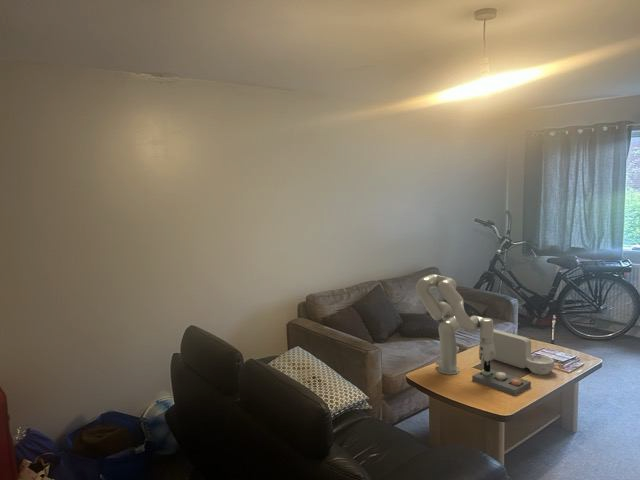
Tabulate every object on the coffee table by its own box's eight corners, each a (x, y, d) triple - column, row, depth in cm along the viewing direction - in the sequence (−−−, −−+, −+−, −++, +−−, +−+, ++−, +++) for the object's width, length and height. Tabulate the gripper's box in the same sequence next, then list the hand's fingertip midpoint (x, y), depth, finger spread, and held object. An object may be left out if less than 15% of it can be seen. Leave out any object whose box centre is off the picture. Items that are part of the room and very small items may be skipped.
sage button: (480, 374, 264) (480, 370, 263) (485, 372, 267) (485, 368, 266) (487, 377, 260) (487, 373, 259) (492, 375, 263) (492, 370, 262)
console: (472, 380, 262) (472, 375, 262) (488, 373, 271) (488, 368, 271) (515, 395, 241) (515, 390, 241) (530, 386, 251) (530, 381, 250)
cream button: (494, 377, 256) (494, 373, 256) (499, 375, 259) (499, 371, 259) (502, 380, 252) (502, 376, 252) (507, 378, 255) (507, 373, 255)
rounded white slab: (533, 366, 278) (533, 337, 276) (525, 369, 274) (526, 340, 272) (492, 353, 302) (492, 327, 300) (485, 356, 298) (485, 329, 296)
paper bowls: (538, 365, 280) (538, 352, 279) (559, 373, 266) (560, 360, 265) (519, 369, 274) (519, 357, 273) (540, 379, 260) (540, 365, 259)
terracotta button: (509, 384, 249) (509, 380, 249) (514, 382, 252) (514, 377, 252) (517, 387, 245) (517, 383, 245) (522, 384, 248) (522, 380, 248)
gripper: (484, 344, 253) (485, 376, 255) (500, 338, 262) (500, 369, 264) (473, 341, 259) (473, 372, 261) (488, 335, 268) (488, 365, 270)
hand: (487, 370), depth 263 cm, fingers closed
